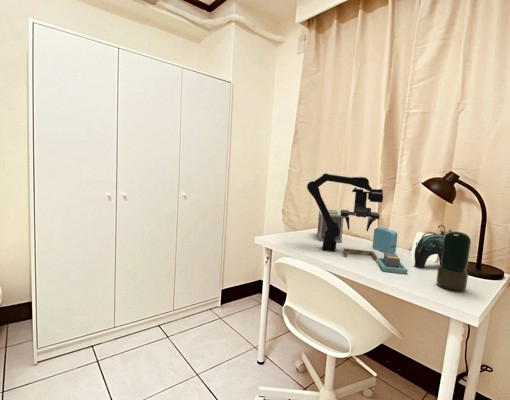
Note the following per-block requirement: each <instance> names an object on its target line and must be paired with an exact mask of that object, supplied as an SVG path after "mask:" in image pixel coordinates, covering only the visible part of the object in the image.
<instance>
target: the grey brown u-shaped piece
mask: <svg viewBox="0 0 510 400" xmlns="http://www.w3.org/2000/svg"><path fill="white" fill-rule="evenodd" d="M342 254H343V256H344V258H347V257H348V254H354V255H362V256H363V255H364V256H371V257H372V259H373V261H376V257H377V258H378V256H377V255H376V253H375V251H372V250H364V249H355V248H354V249H353V248H346V247H345V248H343V250H342Z"/></svg>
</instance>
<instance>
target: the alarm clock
mask: <svg viewBox="0 0 510 400" xmlns="http://www.w3.org/2000/svg"><path fill="white" fill-rule="evenodd" d="M327 210H328V212H329V214H330V216H331V218H332V219H333V221H337V224H338V226H339V227H340V229H339V230H340V234H339V236H337V237H336V238H335V239H336V240H335V241H336V244H342V242H343V241H342V240H343V239H342V238H343V230H344V229H343V228H344V227H343V226H344V219H345V218H343V216H341V215H340V211H338V210H337V209H327ZM317 219H318V220H317V230H316V231H317V233H316V235H317V237H318V241H319V242H322V243H323V237H324V232H325V231H327V230H328V229H327V225H326V221H325V219H324V217H323V215H322V213H321V211H320V209H319V211H318V218H317Z"/></svg>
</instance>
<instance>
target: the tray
mask: <svg viewBox="0 0 510 400" xmlns="http://www.w3.org/2000/svg"><path fill="white" fill-rule="evenodd" d="M383 259H384V257H378V256H377V257H376V260H375V262H376V263H377V265H378V267H379V269H380V270H381V271H382V272H383V273H393V274H399V275H408V269H407V267H406V266H405V265H404V264H403V263H402V262H401V261H400V264H399V268H392V267H385V265H384V263H383Z"/></svg>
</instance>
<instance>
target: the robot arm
mask: <svg viewBox="0 0 510 400" xmlns="http://www.w3.org/2000/svg"><path fill="white" fill-rule="evenodd" d="M369 181H370V180H369V179H368V178H367V177H366V176H365V177H364V176H351V177H350V176H343V175H336V174H329V173H323V174H322V175H321V176H320V177H318V178H317V179H315V180H311V181H309V182H308V183H307V185H306V189H307V191H308V192H309V194H310V195H311V196H312V197H313V199H314V200H315V203H316V205H317V206H318V209H319V210H320V211H321V213H322V215H323V217H324V219H325V221H326V225H327V229H328V230H327V231H325V232H324V237H323V242H322V247H321V248H322V251H325V252H326V251H328V252H335V251H336V250H337V243H336V241H335V240H336V239H335V238H336V237H337V236H339V234H340V230H339V229H340V227H339V226H338V224H337V221H333V219H332V218H331V216H330V214H329V212H328V210H329V209H328V208H327V205H326V203H325V201H324V199H323V197H322V195H321V190H320V187H321V186H322V185H323V184H324V183H326V182H332V183H339V184H345V185H351V186H353V187H354V188H353V189H352V190H351V192H352V193H355V194H354V203H353V204H354V207H353V211H349V209H341V210H340V211H339V212H340V215H341V216H343V218H344V219H345V222H346V226H347V230H350V216H353V217H355V216H356V217H357V218H367V224H366V231H365V232H368V231H369V229H370V227H371V225H372V224H373V222H374V221H377V220H379V219H380V214H379V213H378V212H375V211H372V208H371V207H367V202H368V201H367V200H369V202H370V203H383V201H384V192H383V189H382V188H379V189H377V188H372V186H370V182H369ZM364 190H366V191H364Z"/></svg>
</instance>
